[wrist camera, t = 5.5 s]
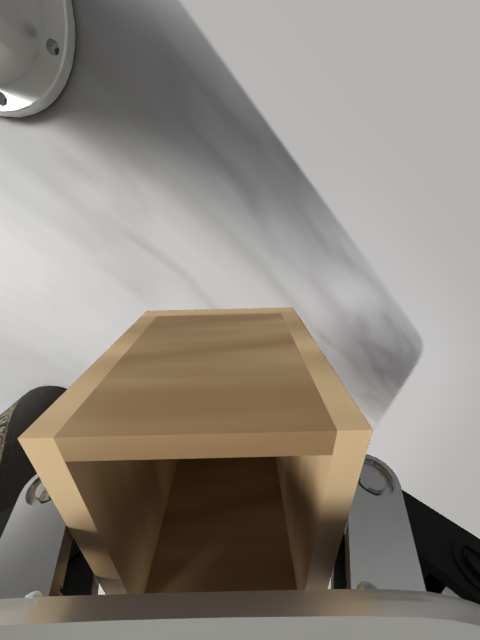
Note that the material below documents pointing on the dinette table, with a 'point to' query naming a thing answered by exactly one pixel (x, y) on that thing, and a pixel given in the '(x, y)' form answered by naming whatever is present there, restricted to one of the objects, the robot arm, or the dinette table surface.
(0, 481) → the container
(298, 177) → the dinette table surface
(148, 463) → the wooden crate
